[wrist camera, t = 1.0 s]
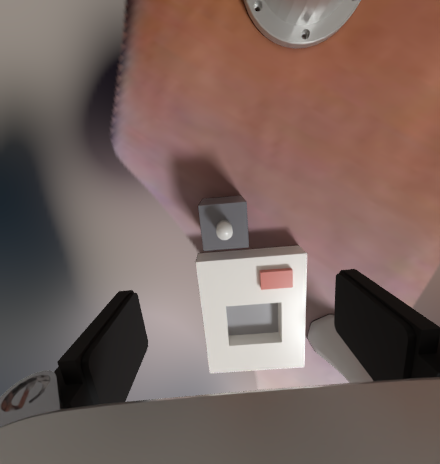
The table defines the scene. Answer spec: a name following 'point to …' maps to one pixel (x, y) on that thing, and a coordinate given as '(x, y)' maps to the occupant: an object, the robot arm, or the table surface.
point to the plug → (224, 223)
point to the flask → (335, 350)
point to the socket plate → (253, 308)
